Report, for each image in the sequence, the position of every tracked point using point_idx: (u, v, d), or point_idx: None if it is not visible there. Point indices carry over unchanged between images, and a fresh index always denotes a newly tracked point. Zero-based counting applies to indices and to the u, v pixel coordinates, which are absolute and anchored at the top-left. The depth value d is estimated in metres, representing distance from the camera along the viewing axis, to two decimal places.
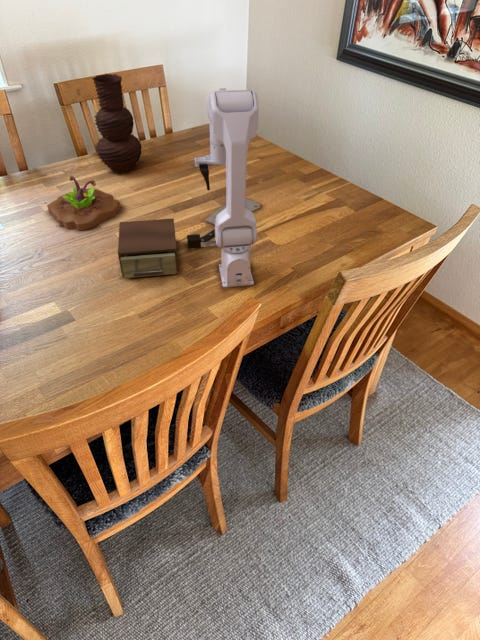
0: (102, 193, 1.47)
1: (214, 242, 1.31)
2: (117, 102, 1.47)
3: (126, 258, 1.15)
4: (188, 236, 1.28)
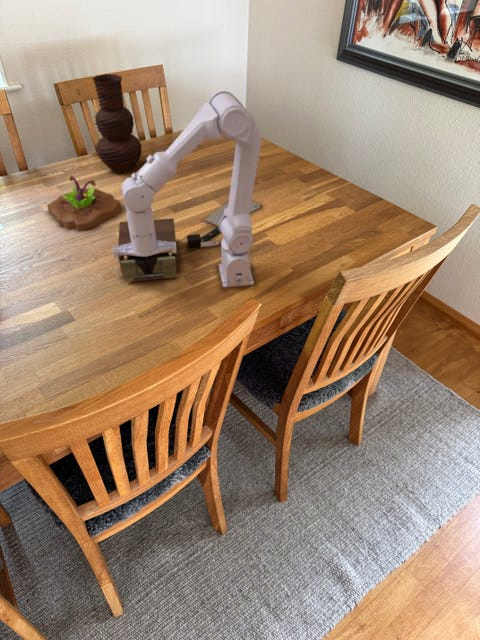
0: (102, 193, 1.47)
1: (214, 242, 1.31)
2: (117, 102, 1.47)
3: (126, 261, 1.14)
4: (188, 236, 1.28)
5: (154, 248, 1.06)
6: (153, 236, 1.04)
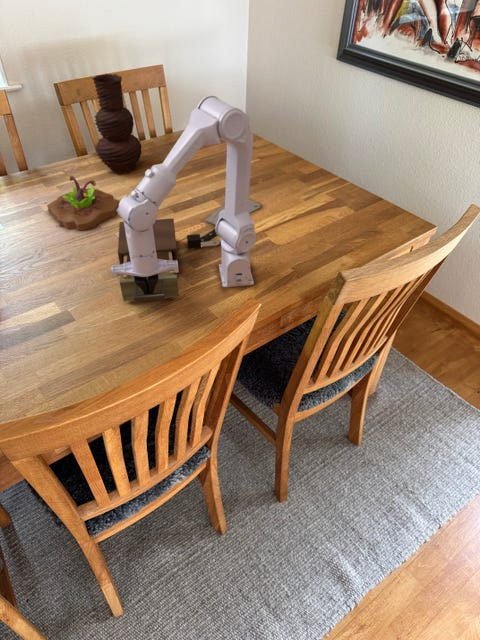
0: (102, 193, 1.47)
1: (214, 242, 1.31)
2: (117, 102, 1.47)
3: (125, 280, 1.08)
4: (188, 236, 1.28)
5: (155, 268, 1.01)
6: (154, 255, 0.99)
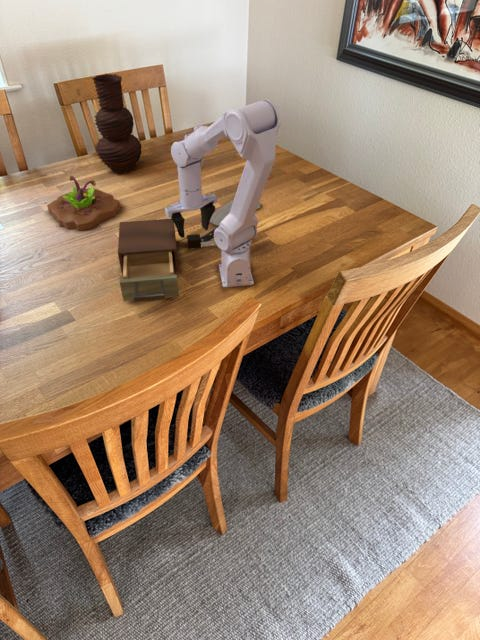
0: (102, 193, 1.47)
1: (214, 242, 1.31)
2: (117, 102, 1.47)
3: (125, 280, 1.08)
4: (188, 236, 1.28)
5: (202, 201, 1.20)
6: (201, 189, 1.19)
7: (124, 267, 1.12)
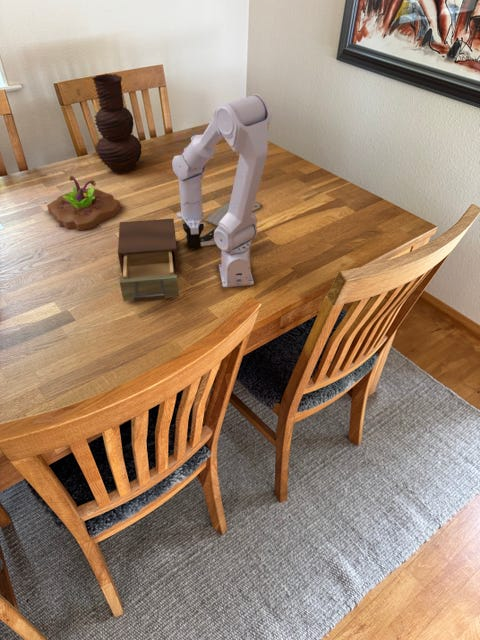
0: (102, 193, 1.47)
1: (214, 241, 1.31)
2: (117, 102, 1.47)
3: (125, 280, 1.08)
4: (187, 236, 1.28)
5: None
6: None
7: (124, 267, 1.12)
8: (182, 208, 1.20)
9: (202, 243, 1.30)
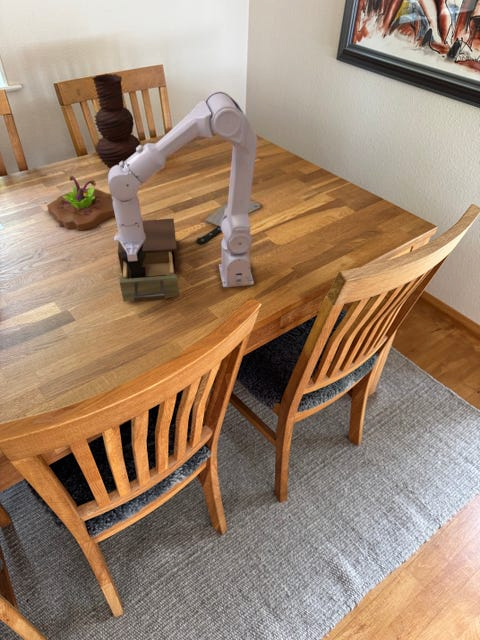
0: (102, 193, 1.47)
1: None
2: (117, 102, 1.47)
3: (125, 280, 1.08)
4: None
5: None
6: None
7: (124, 267, 1.12)
8: (119, 231, 1.04)
9: None
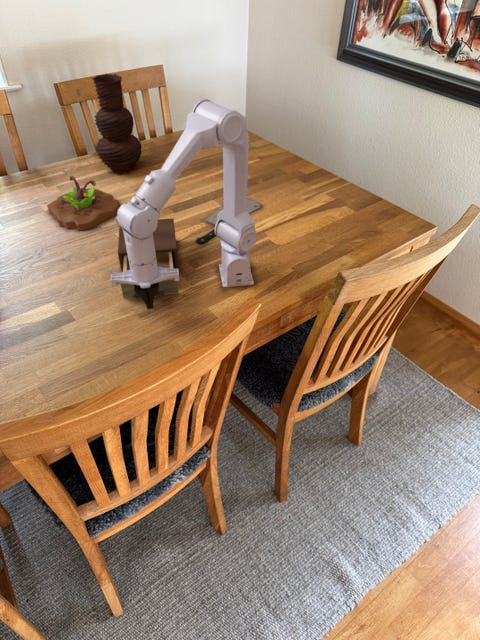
0: (102, 193, 1.47)
1: None
2: (117, 102, 1.47)
3: None
4: None
5: None
6: None
7: (124, 264, 1.13)
8: (149, 271, 0.96)
9: None
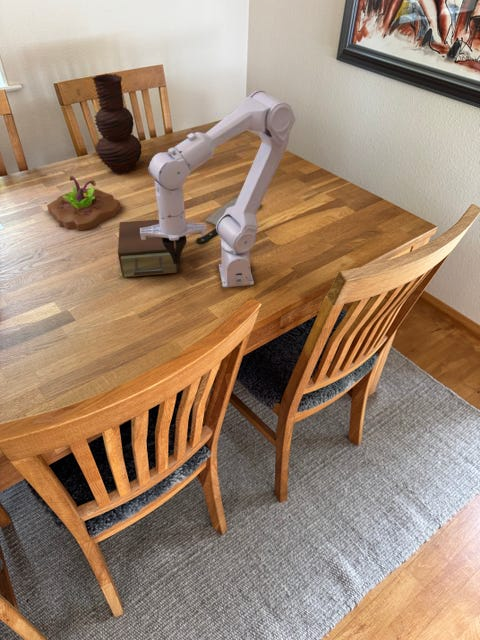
0: (102, 193, 1.47)
1: None
2: (117, 102, 1.47)
3: (126, 257, 1.15)
4: None
5: None
6: None
7: None
8: (178, 223, 0.99)
9: None
